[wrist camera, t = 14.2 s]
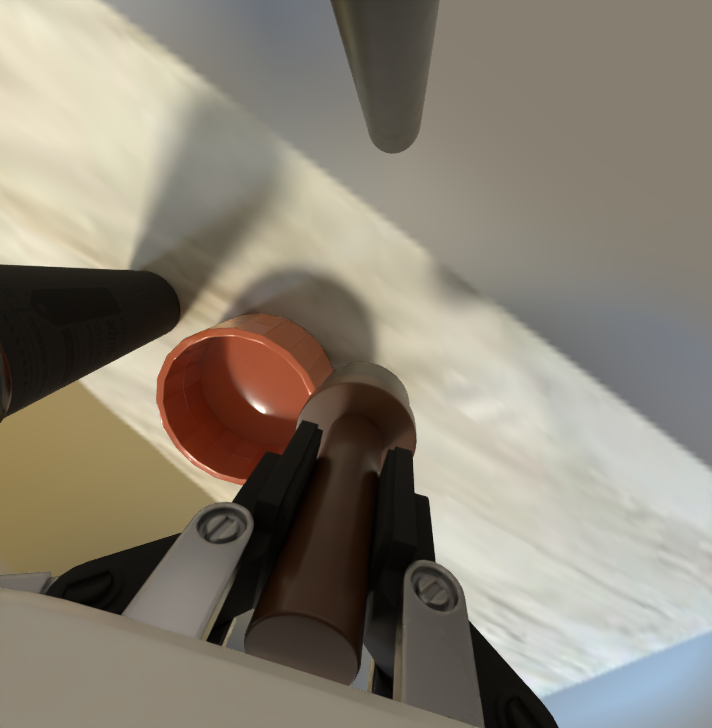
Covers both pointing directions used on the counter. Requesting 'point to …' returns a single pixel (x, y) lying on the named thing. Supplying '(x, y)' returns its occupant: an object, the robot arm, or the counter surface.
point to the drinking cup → (73, 325)
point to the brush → (333, 528)
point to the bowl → (238, 391)
